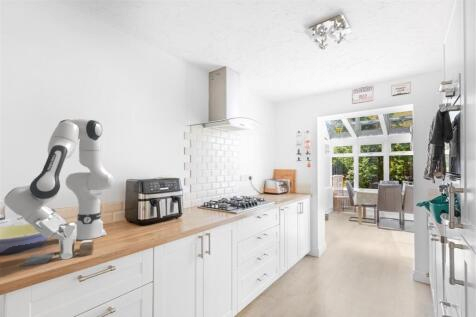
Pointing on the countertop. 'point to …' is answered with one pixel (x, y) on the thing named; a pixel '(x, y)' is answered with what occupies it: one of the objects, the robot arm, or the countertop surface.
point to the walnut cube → (86, 248)
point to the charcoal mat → (38, 259)
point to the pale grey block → (86, 241)
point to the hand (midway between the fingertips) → (66, 236)
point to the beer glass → (67, 240)
